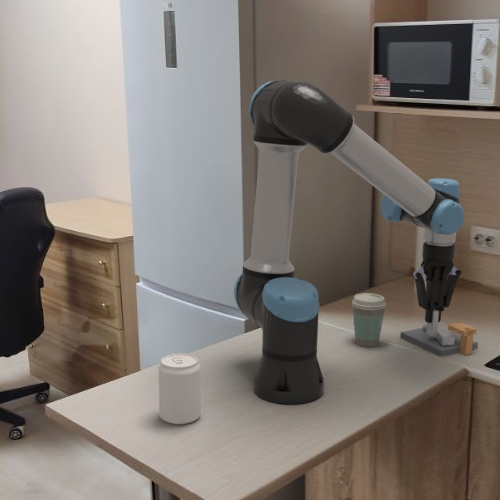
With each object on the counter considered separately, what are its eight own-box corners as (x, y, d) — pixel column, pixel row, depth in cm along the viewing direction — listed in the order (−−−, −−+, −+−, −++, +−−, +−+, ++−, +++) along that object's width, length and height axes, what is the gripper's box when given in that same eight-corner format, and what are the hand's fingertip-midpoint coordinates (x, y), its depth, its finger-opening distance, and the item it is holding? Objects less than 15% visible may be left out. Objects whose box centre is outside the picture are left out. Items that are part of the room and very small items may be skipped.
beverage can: (166, 429, 146) (165, 370, 143) (154, 412, 153) (153, 355, 151) (206, 422, 149) (206, 364, 147) (192, 405, 157) (192, 350, 154)
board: (441, 356, 185) (441, 350, 184) (400, 337, 197) (400, 332, 197) (477, 348, 191) (477, 342, 190) (435, 330, 203) (435, 324, 203)
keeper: (462, 355, 186) (464, 331, 184) (446, 348, 190) (448, 324, 189) (474, 353, 187) (476, 328, 186) (458, 345, 192) (460, 322, 191)
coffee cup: (383, 350, 189) (386, 303, 186) (348, 347, 190) (350, 301, 187) (384, 338, 197) (387, 293, 194) (351, 335, 198) (353, 291, 195)
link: (420, 326, 200) (421, 314, 200) (438, 326, 201) (439, 313, 200) (438, 345, 187) (439, 332, 186) (457, 345, 187) (458, 331, 187)
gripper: (453, 238, 192) (445, 327, 197) (408, 240, 188) (401, 331, 193) (470, 244, 185) (462, 337, 190) (424, 247, 181) (416, 341, 186)
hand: (431, 334), depth 192 cm, fingers closed
